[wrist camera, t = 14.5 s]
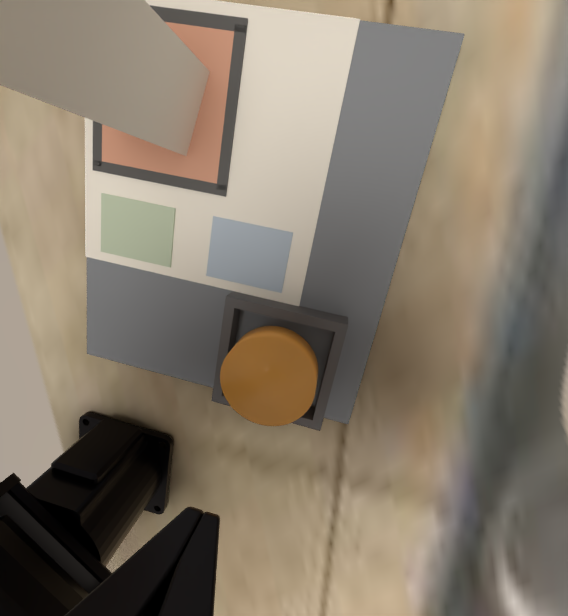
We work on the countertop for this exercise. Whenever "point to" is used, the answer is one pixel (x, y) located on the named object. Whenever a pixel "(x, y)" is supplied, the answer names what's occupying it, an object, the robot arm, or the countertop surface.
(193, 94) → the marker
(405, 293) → the countertop surface
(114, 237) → the grey flat board
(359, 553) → the countertop surface
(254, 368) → the button
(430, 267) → the countertop surface
